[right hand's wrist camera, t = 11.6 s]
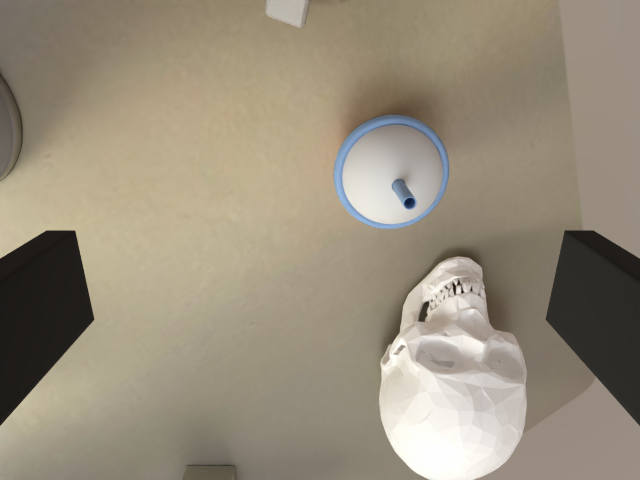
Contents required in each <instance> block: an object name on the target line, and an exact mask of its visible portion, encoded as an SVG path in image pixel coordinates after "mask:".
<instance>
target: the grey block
mask: <svg viewBox="0 0 640 480" xmlns="http://www.w3.org/2000/svg"><path fill="white" fill-rule="evenodd" d="M183 480H236V476H235V466H187V468H186V471H185V474H184V477H183Z"/></svg>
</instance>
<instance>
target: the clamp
mask: <svg viewBox="0 0 640 480" xmlns="http://www.w3.org/2000/svg"><path fill="white" fill-rule="evenodd" d="M309 4H310V0H266V5H265V12H266V14H267V15H268V16H269V17H270V18H273V19H276V20H278V21H281V22H284V23H287V24H290V25H292V26H295V27H298V28H302V27H303V26H304V25H305V23H306V18H307V12H308V8H309Z"/></svg>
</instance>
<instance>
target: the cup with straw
mask: <svg viewBox="0 0 640 480" xmlns="http://www.w3.org/2000/svg"><path fill="white" fill-rule="evenodd" d="M448 178H449V160H448V155H447V152H446V149H445V147H444V145H443V143H442V141H441V139H440V138H439V136H438V135H437V134H436V133H435V132H434V131H433V130H432V129H431V128H430V127H429V126H428V125H426V124H425V123H423V122H421V121H419V120H417V119H415V118H412V117H409V116H405V115H384V116H379V117H376V118H373V119H371V120H368V121H366V122H364V123H363V124H361V125H360V126H358V127H357V128H356V129H355V130H353V131H352V132H351V133H350V134H349V136H348V137H347V138H346V139H345V141H344V142H343V144H342V145H341V147H340V149H339V151H338V154H337V157H336V160H335V164H334V184H335V189H336V192H337V195H338V197H339V199H340V201H341V203H342V204H343V206H344V207H345V208H346V210H347V211H348V212H349V213H350V214H351V215H352V216H353V217H355V218H356V219H358V220H359V221H361V222H363V223H365V224H367V225H369V226H373V227H376V228H383V229H395V228H401V227H405V226H408V225H411V224H413V223H415V222H417V221H419V220H421V219H422V218H424V217H425V216H426V215H427V214H429V213H430V212H431V211H432V210H433V209H434V208H435V206H436V205H437V204H438V202H439V201H440V200H441V198H442V196H443V194H444V192H445V189H446V186H447V183H448Z"/></svg>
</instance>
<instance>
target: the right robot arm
mask: <svg viewBox="0 0 640 480" xmlns="http://www.w3.org/2000/svg"><path fill="white" fill-rule="evenodd" d="M21 143H22V127H21V120H20V116H19V111H18V108H17V105H16V103H15V100H14V98H13V96H12V94H11V92H10V90H9V88H8V87H7V85H6V83H5V82H4V80H3V79H2V78H1V76H0V181H1V180H2V179H3V178H4V177H5V176H6V175H7V174H8V173H9V172H10V171H11V169H12V168H13V166H14V165H15V163H16V161H17V158H18V156H19V153H20V149H21ZM93 320H94V316H93V311H92V307H91V302H90V297H89V293H88V288H87V283H86V279H85V274H84V269H83V265H82V260H81V255H80V251H79V246H78V242H77V237H76V232H75V231H45V232H43V233H42V234H40V235H38V236H37V237H35V238H34V239H32V240H30V241H29V242H27V243H25V244H24V245H22V246H20V247H19V248H17V249H15V250H14V251H12V252H10V253H9V254H7V255H6V256H4V257H2V258H1V259H0V425H1V424H2V423H3V422H4V421H5V420H6V419H7V418H8V416H9V415H10V414H11V413H12V412H13V411H14V410H15V408H16V407H17V406H18V405H19V404H20V403H21V402H22V401H23V399H24V398H25V397H26V396H27V395H28V394H29V393H30V392H31V390H32V389H33V388H34V387H35V386H36V385H37V384H38V383H39V381H40V380H41V379H42V378H43V377H44V376H45V375H46V373H47V372H48V371H49V370H50V369H51V368H52V367H53V366H54V364H55V363H56V362H57V361H58V360H59V359H60V358H61V357H62V355H63V354H64V353H65V352H66V351H67V350H68V349H69V348H70V346H71V345H72V344H73V343H74V342H75V341H76V340H77V339H78V337H79V336H80V335H81V334H82V333H83V332H84V331H85V329H86V328H87V327H88V326H89V325H90V324H91V323H92V322H93ZM546 320H547V322H548V323H549V324H550V325H551V326H552V327H553V328H554V329H555V331H556V332H557V333H558V334H559V335H560V336H561V337H562V339H563V340H564V341H565V342H566V343H567V344H568V345H569V346H570V348H571V349H572V350H573V351H574V352H575V353H576V354H577V355H578V357H579V358H580V359H581V360H582V361H583V362H584V363H585V364H586V366H587V367H588V368H589V369H590V370H591V371H592V372H593V373H594V375H595V376H596V377H597V378H598V379H599V380H600V381H601V382H602V384H603V385H604V386H605V387H606V388H607V389H608V390H609V392H610V393H611V394H612V395H613V396H614V397H615V398H616V399H617V401H618V402H619V403H620V404H621V405H622V406H623V407H624V408H625V410H626V411H627V412H628V413H629V414H630V415H631V416H632V418H633V419H634V420H635V421H636V422H637V423H638V424H639V425H640V259H639V258H638V257H636V256H634V255H633V254H631V253H629V252H628V251H626V250H624V249H623V248H621V247H620V246H618V245H616V244H615V243H613V242H611V241H610V240H608V239H606V238H605V237H603V236H602V235H600V234H598V233H596V232H595V231H565V232H564V237H563V241H562V246H561V251H560V255H559V260H558V265H557V269H556V274H555V279H554V283H553V288H552V293H551V297H550V302H549V307H548V311H547V316H546Z"/></svg>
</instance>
